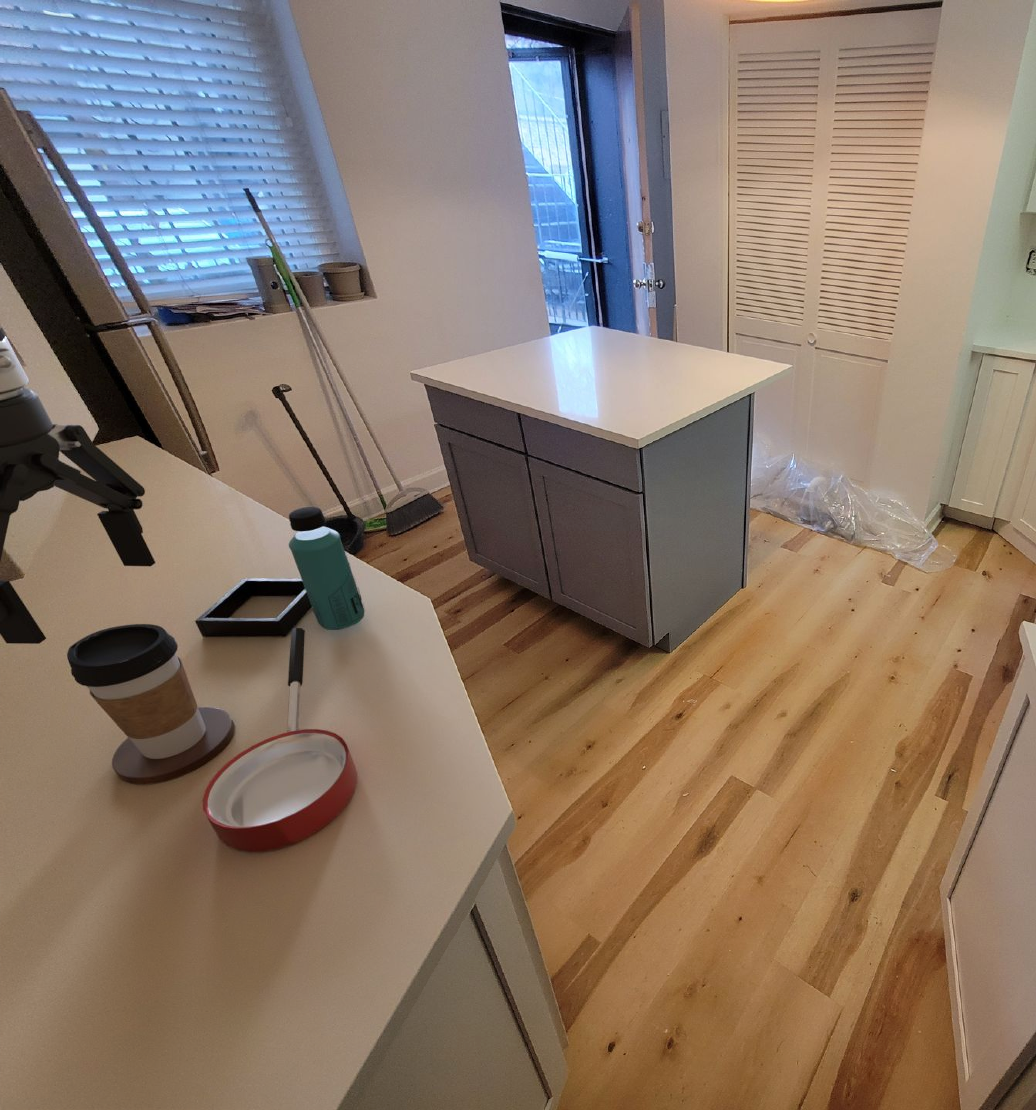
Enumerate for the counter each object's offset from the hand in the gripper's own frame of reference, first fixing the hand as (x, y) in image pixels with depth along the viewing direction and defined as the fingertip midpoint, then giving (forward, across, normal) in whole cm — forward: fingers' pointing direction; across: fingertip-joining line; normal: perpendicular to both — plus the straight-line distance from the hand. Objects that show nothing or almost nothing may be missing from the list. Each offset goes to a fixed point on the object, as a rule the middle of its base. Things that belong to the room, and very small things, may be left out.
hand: (88, 599), depth 62 cm
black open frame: (+22, +27, +4) cm, 35 cm away
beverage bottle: (+22, +24, -8) cm, 33 cm away
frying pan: (+22, 0, -13) cm, 25 cm away
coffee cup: (+21, 0, -1) cm, 21 cm away
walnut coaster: (+22, 0, 0) cm, 22 cm away
